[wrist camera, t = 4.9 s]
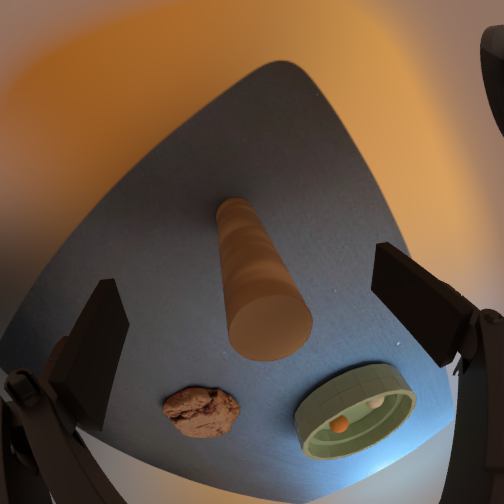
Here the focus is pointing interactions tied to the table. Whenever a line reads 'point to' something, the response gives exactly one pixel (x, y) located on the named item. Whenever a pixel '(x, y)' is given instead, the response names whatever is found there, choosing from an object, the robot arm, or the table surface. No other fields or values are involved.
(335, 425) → the orange ball
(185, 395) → the cookie
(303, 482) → the table surface
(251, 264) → the stick
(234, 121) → the table surface
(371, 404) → the cream ball
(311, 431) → the bowl
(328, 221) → the table surface
